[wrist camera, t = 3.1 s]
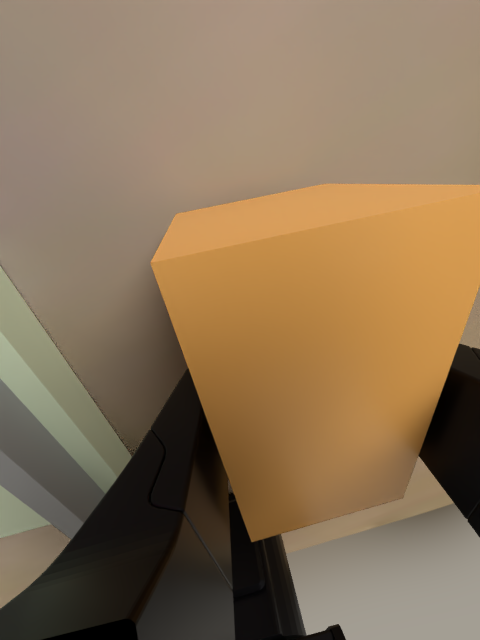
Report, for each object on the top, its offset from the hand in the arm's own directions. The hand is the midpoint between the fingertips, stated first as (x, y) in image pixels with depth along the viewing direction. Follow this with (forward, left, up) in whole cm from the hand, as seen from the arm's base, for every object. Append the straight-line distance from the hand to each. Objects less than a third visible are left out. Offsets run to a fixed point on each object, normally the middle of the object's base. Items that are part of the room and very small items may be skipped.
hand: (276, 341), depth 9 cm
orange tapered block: (+1, 0, -1) cm, 1 cm away
